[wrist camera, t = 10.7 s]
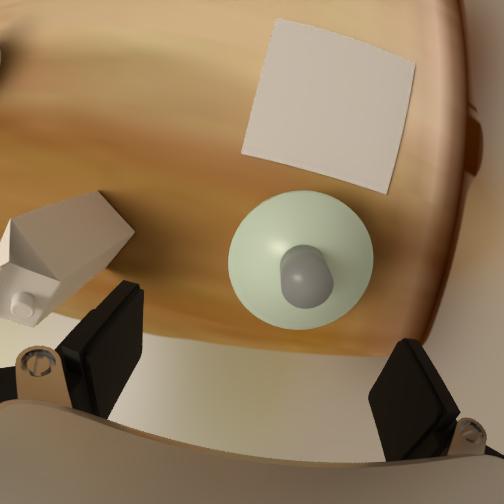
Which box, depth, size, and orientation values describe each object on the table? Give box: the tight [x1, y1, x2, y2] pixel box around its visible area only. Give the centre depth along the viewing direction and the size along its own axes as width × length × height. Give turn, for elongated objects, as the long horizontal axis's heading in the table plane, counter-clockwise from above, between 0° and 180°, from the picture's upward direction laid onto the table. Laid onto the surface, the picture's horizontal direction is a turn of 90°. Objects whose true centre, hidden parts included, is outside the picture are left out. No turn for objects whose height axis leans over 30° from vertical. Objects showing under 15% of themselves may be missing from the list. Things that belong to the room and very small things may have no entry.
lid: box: [228, 190, 373, 330], centre depth 25 cm, size 13×13×5 cm
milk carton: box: [0, 191, 135, 327], centre depth 25 cm, size 7×7×19 cm
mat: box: [241, 18, 415, 194], centre depth 28 cm, size 16×16×1 cm
